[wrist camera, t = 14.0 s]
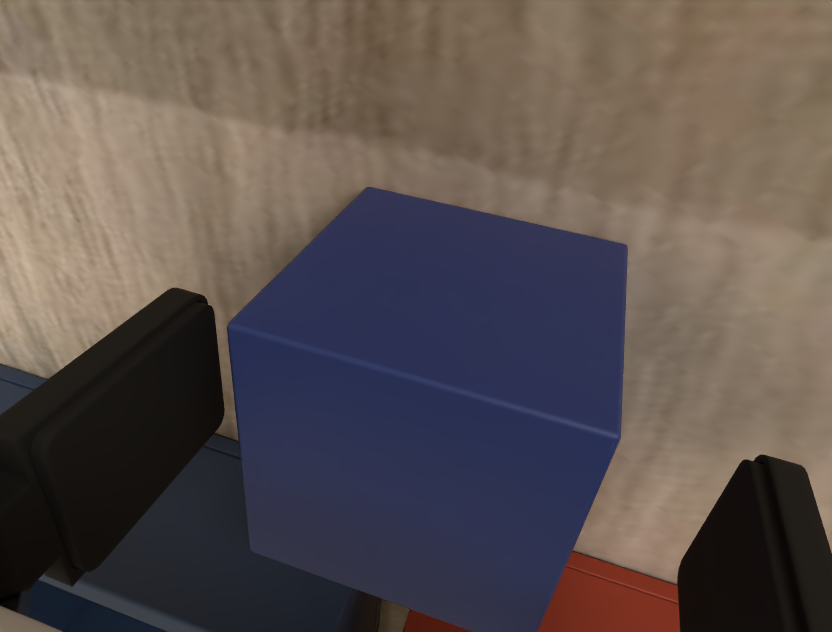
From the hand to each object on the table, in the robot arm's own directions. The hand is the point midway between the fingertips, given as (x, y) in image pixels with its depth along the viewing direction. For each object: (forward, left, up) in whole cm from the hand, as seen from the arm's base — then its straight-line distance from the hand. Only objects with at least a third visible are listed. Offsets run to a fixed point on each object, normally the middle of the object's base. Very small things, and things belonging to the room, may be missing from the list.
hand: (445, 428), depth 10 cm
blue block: (0, 0, -3) cm, 3 cm away
